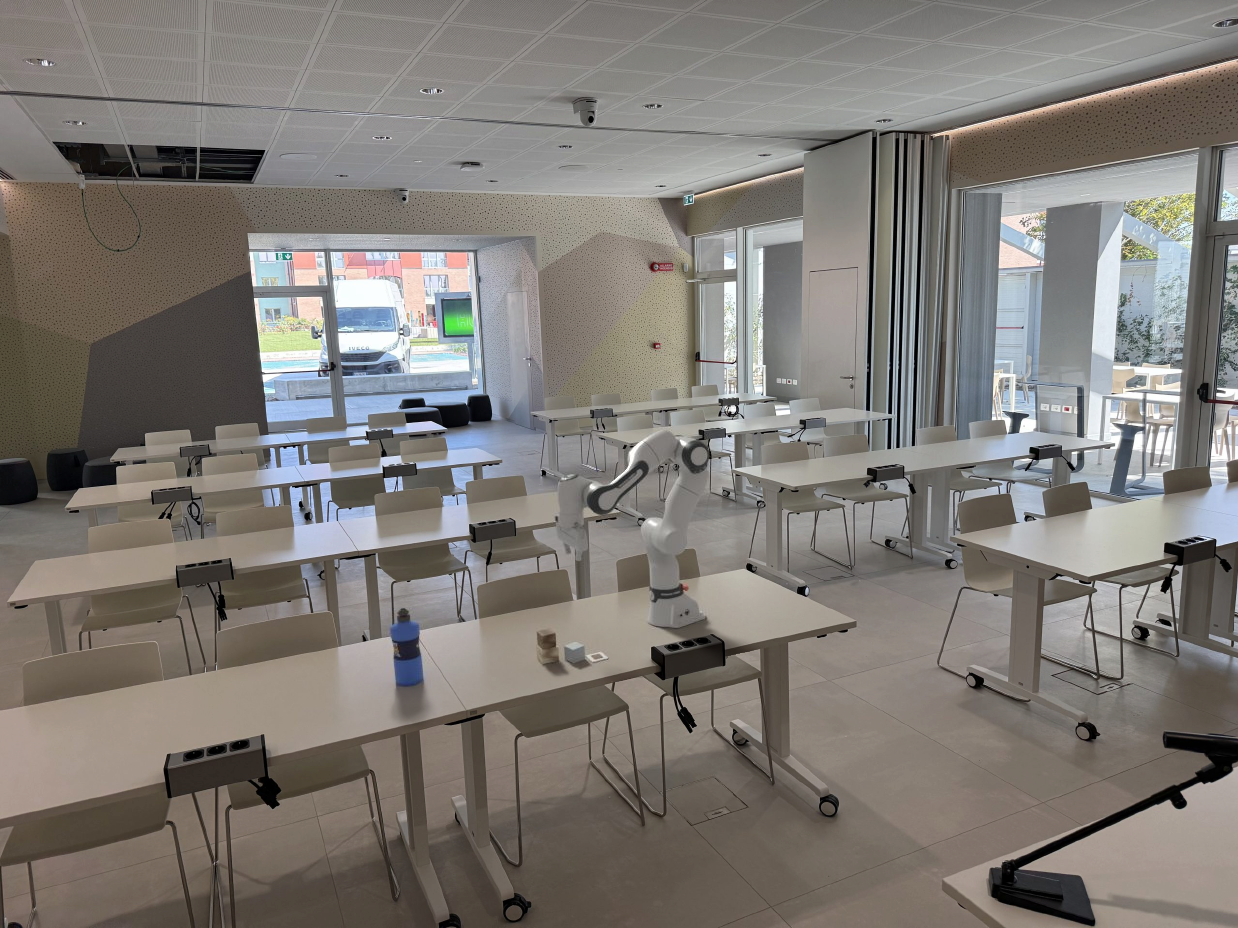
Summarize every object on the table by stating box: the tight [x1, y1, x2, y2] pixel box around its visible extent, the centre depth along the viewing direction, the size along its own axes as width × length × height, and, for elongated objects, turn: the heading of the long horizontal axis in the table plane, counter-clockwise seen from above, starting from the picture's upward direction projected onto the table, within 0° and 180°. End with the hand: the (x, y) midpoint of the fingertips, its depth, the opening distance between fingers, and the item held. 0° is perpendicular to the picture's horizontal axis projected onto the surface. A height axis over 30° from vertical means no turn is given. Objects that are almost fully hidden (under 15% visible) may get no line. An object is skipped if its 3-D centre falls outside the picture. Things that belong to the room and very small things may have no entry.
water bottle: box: [389, 607, 424, 687], centre depth 279 cm, size 9×9×25 cm
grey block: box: [563, 641, 586, 664], centre depth 292 cm, size 5×5×5 cm
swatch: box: [585, 651, 609, 664], centre depth 293 cm, size 6×6×1 cm
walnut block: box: [536, 628, 557, 650], centre depth 292 cm, size 5×5×5 cm
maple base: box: [535, 643, 560, 665], centre depth 293 cm, size 6×6×5 cm
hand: (573, 557), depth 304 cm, fingers open, 8 cm apart
